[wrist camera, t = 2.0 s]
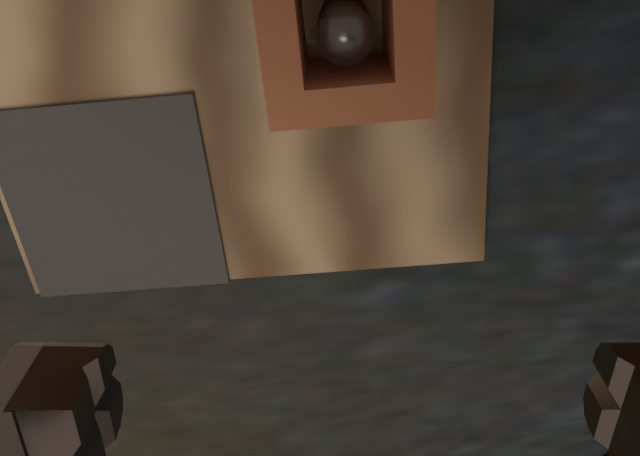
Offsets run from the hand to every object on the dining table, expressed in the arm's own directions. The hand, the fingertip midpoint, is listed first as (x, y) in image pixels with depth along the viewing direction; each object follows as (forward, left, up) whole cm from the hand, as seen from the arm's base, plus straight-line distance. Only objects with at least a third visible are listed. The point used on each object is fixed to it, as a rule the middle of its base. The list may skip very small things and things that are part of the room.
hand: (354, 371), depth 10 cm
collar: (0, -3, -18) cm, 18 cm away
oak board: (+6, +2, -24) cm, 24 cm away
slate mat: (+13, +6, -22) cm, 26 cm away
